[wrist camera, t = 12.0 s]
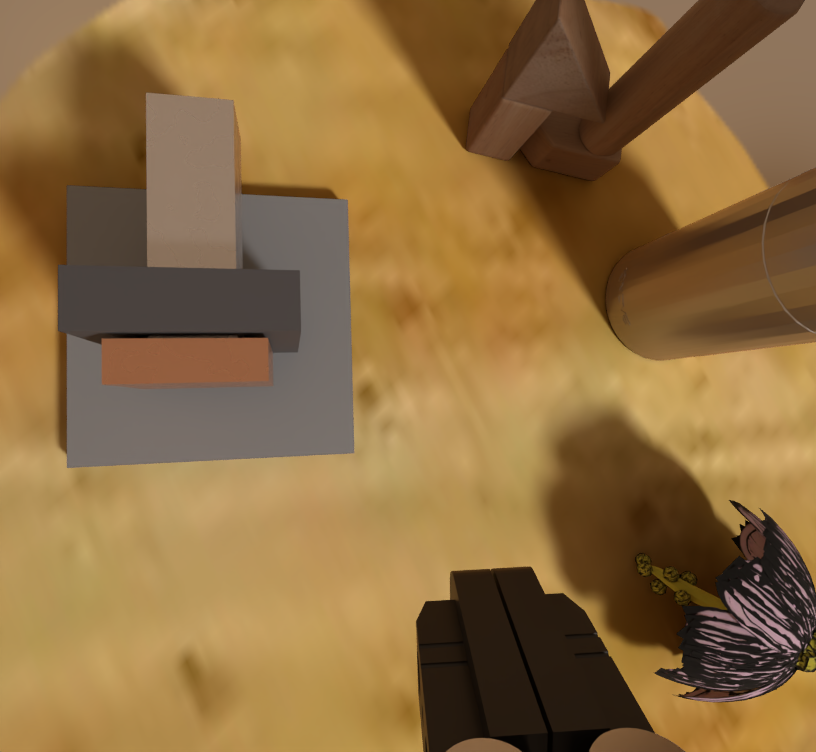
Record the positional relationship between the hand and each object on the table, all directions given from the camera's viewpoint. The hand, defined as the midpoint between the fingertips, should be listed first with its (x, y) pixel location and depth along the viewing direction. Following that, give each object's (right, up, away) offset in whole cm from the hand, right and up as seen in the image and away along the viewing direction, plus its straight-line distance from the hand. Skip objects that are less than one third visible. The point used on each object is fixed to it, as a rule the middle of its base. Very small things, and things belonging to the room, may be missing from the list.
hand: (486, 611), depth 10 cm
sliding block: (-13, +11, +21) cm, 27 cm away
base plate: (-14, +8, +25) cm, 30 cm away
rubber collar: (-14, +7, +24) cm, 28 cm away
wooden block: (+8, +22, +31) cm, 39 cm away
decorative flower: (+20, -12, +32) cm, 39 cm away
